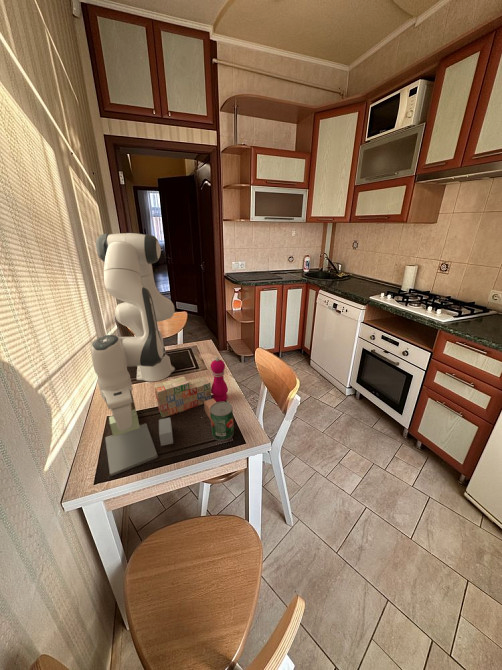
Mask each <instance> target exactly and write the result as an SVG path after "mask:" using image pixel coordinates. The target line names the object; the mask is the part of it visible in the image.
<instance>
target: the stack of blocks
mask: <svg viewBox="0 0 502 670" xmlns="http://www.w3.org/2000/svg"><path fill="white" fill-rule="evenodd" d="M153 387H154V393H155V399H156V403H157V408H158V411H159V413H160V416H161V419H164V418H166V417H168V416H173V415H175V413H176V414H178V412H179V413H181V412H185V411H187V410H190V409H192V408H195V407H198V406H201V405H204V401H207V400H210V399H213V394H212V393H211V387H212V384H211V382H210V380H209V379H208V378H207V377H206V376H202V377H199V378H195V379H191V380H187V379H186V377H185V376H180V377H178V378H173V379H170V380H166V381H163V382H159V383H155V384H154V386H153Z"/></svg>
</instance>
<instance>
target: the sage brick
mask: <svg viewBox="0 0 502 670" xmlns="http://www.w3.org/2000/svg"><path fill="white" fill-rule="evenodd" d="M131 411H132V421H133V425H132V427H131V428H129V429H128V430H125V431H124V430H123V431H120V430H119V429H118V427H117V424H116V422H115V419H114V417H113V415H111V416H109V417H108V419H109V420H108V421H109V426H110V430H111V433H112V434H111V435H113V437H115V436H117V435H120V434H123V433H126V432H129V431H132V430H135V429H138V428H140V423H139V418H138V417H139V416H138V413H137V410H136V409H133V410H131Z"/></svg>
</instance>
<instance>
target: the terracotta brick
mask: <svg viewBox="0 0 502 670" xmlns="http://www.w3.org/2000/svg"><path fill="white" fill-rule="evenodd" d="M214 403H217V402H216V401H215V400H214V399H213V398H212V399H210V400H207V401H204V404H203V405H204V413H205V414H206V415H207V417H208V418H209V419H210V420H211V415H210V407H211V406H212V405H213V404H214Z"/></svg>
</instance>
